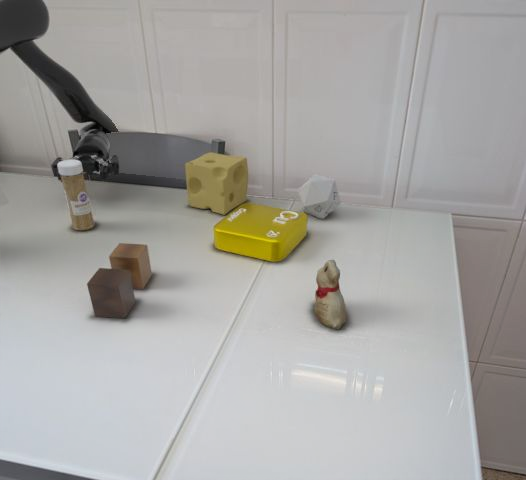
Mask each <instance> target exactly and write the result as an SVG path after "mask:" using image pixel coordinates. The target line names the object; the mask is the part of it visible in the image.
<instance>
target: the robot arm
mask: <svg viewBox="0 0 526 480" xmlns="http://www.w3.org/2000/svg"><path fill="white" fill-rule="evenodd" d="M49 27H50V11H49V9H48V6H47V4H46V3H45V1H44V0H0V55H2V54H4V53H5V52H7V51H8V50H9V49H10V50H11V52H13V53H14V55H16V57H18V59H19V60H20V61H21V62H22V63H23V64H24V65H25V66H26V67H27V68H28V69H29V70H31V72H32V73H33V74H34V75H35V76H36V77H37V78H38V79H39V81H41V82H42V83H43V84H44V86H46V88H48V90H49V91H50V92H51V93H52V95H53V96H54V97H55V99H57V101H58V103H60V105H61V106H62V108H63V109H64V110H65V112H66V113H67V114H68V116H69V117H70V118H71V119H72V121H73V122H75V123H77V124H85V123H86V125H84V126H83V127H81V128H80V129H79V131H78V133H79V135H78V136H80V135H81V139H80V138H79V140H78V142H77V144H76V145H75V148H74V149H73V152H72V156H71V157H70V158H69V159H67V160H79V161H80V162H81V164H82V168H83V175H87V176H97V175H99V176H100V177H99V178H100V180H101V181H105V180H106V179H108V178H109V176H110V175H111V173H112V174H113V175H118V174H120V163H119V157H118V155H117V154H113V155H112V156H110V151H111V147H112V146H111V143H110V140H109V138H108V136H107V135H106V133H111V132H119V131H118V129H117V128H116V126H115V124H114V123H113V122H112V120H111V119H110V118H109V117H108V116H109V115H108V114H107V113H106V112H105V111H104V110H102V108H100V107H99V106H98V104H96V102H95V101H94V100H93V99H92V97H91V96H90V94H89V92H88V91H87V89H85V87H84V86H83V84H82V83H81V81H80V80H79V79H78V78H77V77H76V76H75V75H74V74H72V72H71V71H69V70H68V69H66V67H64V66H62V65H61V64H60V63H58V62H57V61H55V60H54V59H53V58H52V57H50V56H49V55H48V54H46V53H45V52H44V51H43V50H42V49H41V48H40V47H39V46H38V45H37V43H36V42H35V40H39V39H41V38H42V37H44V36H45V35H46V34H47V32H48V30H49ZM103 111H104V112H105V113H106V114H107V115H108V116H107V115H106V114H105V113H104V112H103ZM87 123H89V124H87ZM61 161H64V159H63V157H59V156H58V157H56V159H54V161H53V162H52V163H51V165H50V167H51V171H52V174H53V177H55V178H57V179H58V181H60V182H61V183H62V179H61V176H60V174H59V171H58V167H57V164H58V163H59V162H61Z"/></svg>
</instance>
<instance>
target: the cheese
mask: <svg viewBox="0 0 526 480" xmlns="http://www.w3.org/2000/svg"><path fill="white" fill-rule="evenodd" d="M248 165H249V164H248V159H247V157H245V156H237V155H227V154H221V153H217V152H211V151H209V152H207V153H205V154H203V155H201V156H199V157H197V158H195V159H192V160H190V161H187V162H186V163H184V167H185V168H184V169H185V171H184V172H185V179H186V180H185V181H186V193H187V200H188V205H189V207H193V208H197V209H201V210H209V209H210V210H211V212H213V213H215V214H220V215H223V216H224V215H227V214H228V213H230V212H231V211H232V210H234V209H236V208H237V207H239V206H240V205H242V204H244V203H246V201H247V196H248V186H249V166H248Z"/></svg>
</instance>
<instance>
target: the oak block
mask: <svg viewBox="0 0 526 480" xmlns="http://www.w3.org/2000/svg"><path fill="white" fill-rule="evenodd" d="M108 258H109V264H110V269H123V270H130V275H131V280H132V286H133V290H144V289H145V287H146V285H147V284H148V282H149V281H150V279H151V277H152V276H153V273H152V267H151V260H150V253H149V248H148V244H142V243H127V242H126V243H124V242H119V243H118V244H117V246H115V248H114V249H113V251H112V252H110V254H109V256H108Z"/></svg>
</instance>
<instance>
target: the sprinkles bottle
mask: <svg viewBox="0 0 526 480" xmlns="http://www.w3.org/2000/svg"><path fill="white" fill-rule="evenodd" d="M57 167H58V171H59V174H60V176H61V179H62V182H61V183H62V187H63V193H64V196H65V197H64V198H65V201H66V205H67V209H68V213H69V215H70V218H71V223H72V229H74V230H76V231H88V230H90V229H93V228H94V227H95V221H94V217H93V214H92V213H93V212H92V207H91V201H90V198H89V194H88V189H87V186H86V181H85V177H84V174H83V168H82V164H81V162H80V161H79V160H68V159H63V161H61V162H59V163H58V164H57Z"/></svg>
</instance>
